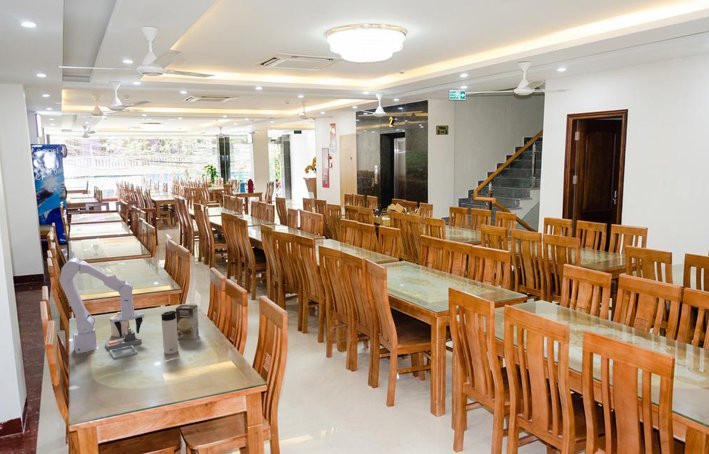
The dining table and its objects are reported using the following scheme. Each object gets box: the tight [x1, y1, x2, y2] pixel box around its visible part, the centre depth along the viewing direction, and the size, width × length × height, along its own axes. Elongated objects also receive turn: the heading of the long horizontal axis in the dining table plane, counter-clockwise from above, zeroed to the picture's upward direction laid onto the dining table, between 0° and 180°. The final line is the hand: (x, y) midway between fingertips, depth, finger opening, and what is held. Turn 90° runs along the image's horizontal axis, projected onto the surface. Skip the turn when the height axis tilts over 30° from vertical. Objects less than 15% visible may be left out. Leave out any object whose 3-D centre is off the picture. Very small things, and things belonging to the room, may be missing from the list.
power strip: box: [104, 334, 143, 351], centre depth 243 cm, size 15×7×3 cm, turn 126°
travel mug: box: [161, 310, 179, 356], centre depth 232 cm, size 6×7×20 cm
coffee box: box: [175, 304, 200, 340], centre depth 252 cm, size 9×6×16 cm
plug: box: [124, 327, 136, 342], centre depth 245 cm, size 4×4×8 cm
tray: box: [108, 345, 139, 360], centre depth 233 cm, size 10×10×2 cm
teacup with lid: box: [109, 311, 131, 338], centre depth 260 cm, size 12×9×12 cm
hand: (129, 334), depth 245 cm, fingers open, 7 cm apart
